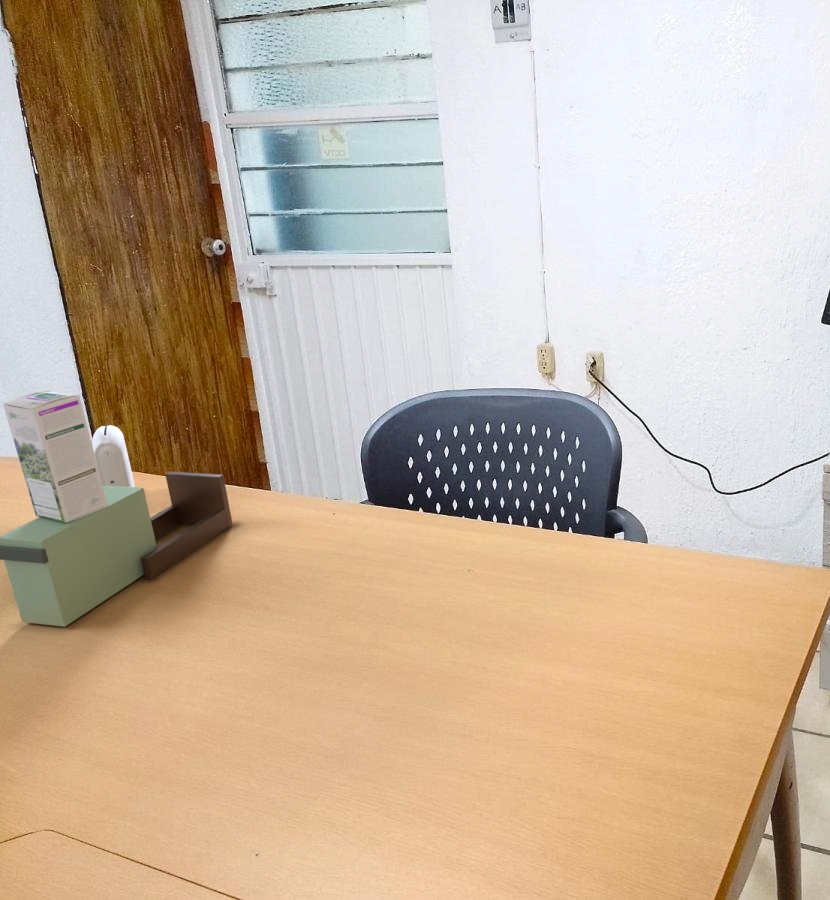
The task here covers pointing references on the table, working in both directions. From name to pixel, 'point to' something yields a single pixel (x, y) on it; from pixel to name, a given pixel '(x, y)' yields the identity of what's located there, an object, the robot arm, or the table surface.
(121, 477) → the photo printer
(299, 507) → the table surface
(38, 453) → the syrup box
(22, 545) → the container
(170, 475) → the rack
